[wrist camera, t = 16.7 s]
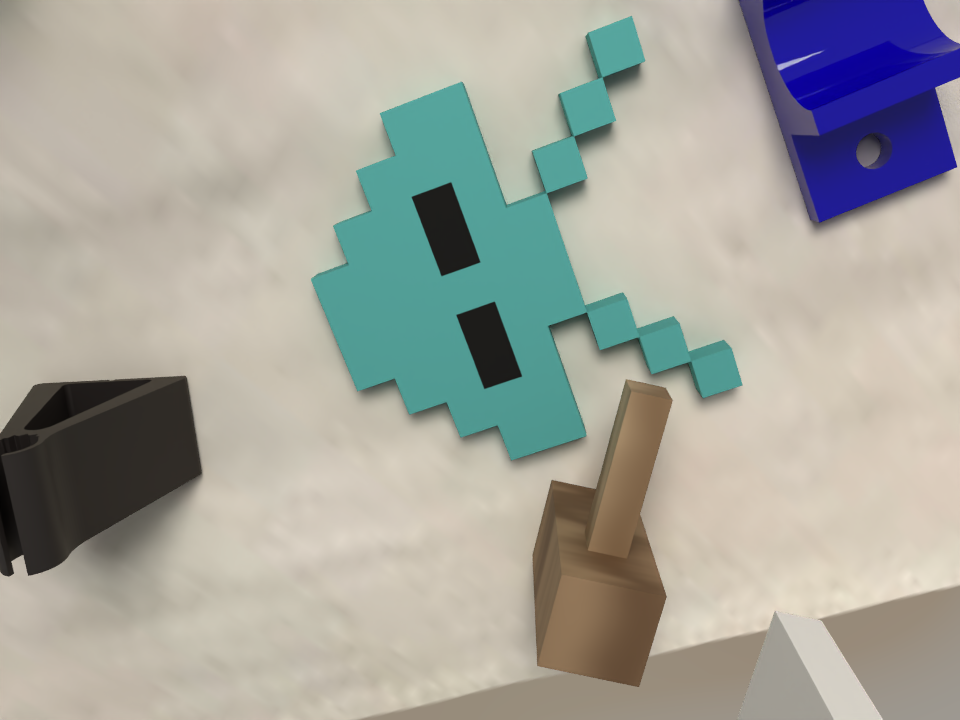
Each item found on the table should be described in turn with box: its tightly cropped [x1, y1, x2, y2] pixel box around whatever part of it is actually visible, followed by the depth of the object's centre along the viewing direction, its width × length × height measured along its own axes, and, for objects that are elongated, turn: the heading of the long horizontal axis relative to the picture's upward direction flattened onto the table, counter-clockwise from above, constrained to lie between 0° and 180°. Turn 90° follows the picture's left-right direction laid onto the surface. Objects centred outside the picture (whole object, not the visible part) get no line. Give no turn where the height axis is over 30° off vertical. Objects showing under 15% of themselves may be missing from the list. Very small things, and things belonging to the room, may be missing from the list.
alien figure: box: [311, 16, 742, 460], centre depth 47 cm, size 20×2×20 cm
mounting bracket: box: [739, 0, 960, 223], centre depth 41 cm, size 18×7×6 cm, turn 23°
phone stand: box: [0, 376, 201, 576], centre depth 45 cm, size 9×6×12 cm, turn 93°
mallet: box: [533, 379, 673, 687], centre depth 45 cm, size 5×14×11 cm, turn 168°
